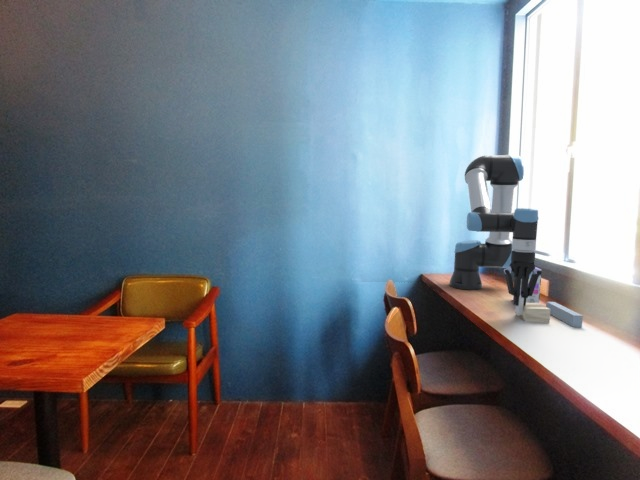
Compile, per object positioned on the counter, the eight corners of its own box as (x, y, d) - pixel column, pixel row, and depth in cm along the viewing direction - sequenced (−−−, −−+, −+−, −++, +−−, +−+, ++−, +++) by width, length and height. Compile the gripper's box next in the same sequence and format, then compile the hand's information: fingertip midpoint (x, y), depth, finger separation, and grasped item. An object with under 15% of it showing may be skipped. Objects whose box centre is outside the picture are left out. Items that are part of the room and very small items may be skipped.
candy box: (539, 309, 144) (542, 269, 142) (523, 308, 145) (526, 268, 143) (527, 300, 157) (529, 263, 155) (512, 299, 158) (514, 262, 156)
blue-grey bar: (545, 311, 141) (546, 301, 140) (553, 311, 141) (554, 301, 140) (572, 326, 124) (573, 315, 123) (581, 326, 124) (582, 315, 123)
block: (515, 315, 137) (516, 302, 136) (537, 315, 136) (538, 302, 135) (526, 322, 129) (527, 308, 128) (549, 322, 128) (550, 309, 127)
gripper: (509, 251, 127) (504, 316, 129) (547, 252, 126) (542, 317, 128) (500, 249, 134) (496, 310, 137) (536, 249, 133) (532, 311, 136)
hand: (518, 313), depth 133 cm, fingers closed
